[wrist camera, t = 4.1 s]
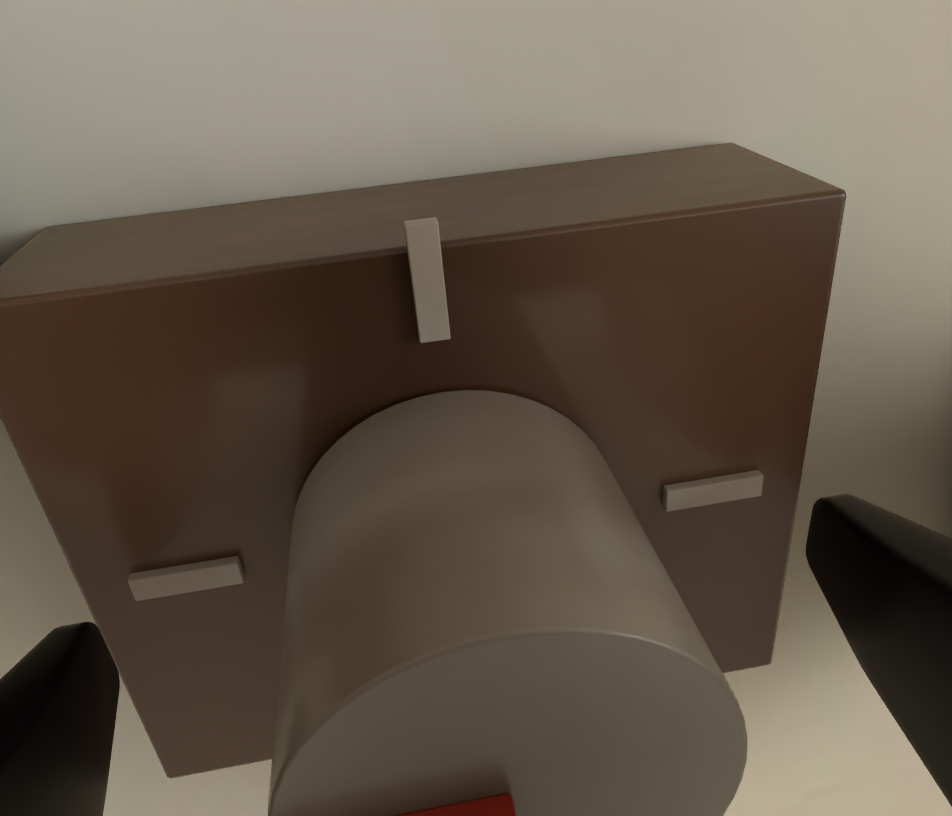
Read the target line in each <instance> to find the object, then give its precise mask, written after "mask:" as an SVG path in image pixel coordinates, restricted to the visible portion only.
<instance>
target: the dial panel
mask: <svg viewBox="0 0 952 816" xmlns="http://www.w3.org/2000/svg"><path fill="white" fill-rule="evenodd" d="M845 200H846V192H845V191H844V190H843V189H840V188H838V187H836V186H833V185H831V184H828V183H826V182H824V181H821V180H819V179H817V178H814V177H812V176H810V175H807V174H805V173H803V172H800V171H798V170H795V169H793V168H791V167H788V166H786V165H784V164H781V163H779V162H777V161H774V160H772V159H769V158H767V157H765V156H762V155H760V154H758V153H755V152H753V151H751V150H748V149H746V148H744V147H741V146H739V145H736V144H734V143H727V144H719V145H711V146H703V147H695V148H687V149H679V150H670V151H662V152H654V153H646V154H638V155H630V156H622V157H614V158H605V159H597V160H589V161H581V162H573V163H565V164H557V165H548V166H540V167H532V168H524V169H516V170H508V171H500V172H492V173H483V174H475V175H467V176H459V177H451V178H443V179H435V180H426V181H418V182H410V183H402V184H394V185H386V186H378V187H369V188H361V189H353V190H345V191H337V192H329V193H321V194H313V195H304V196H296V197H288V198H280V199H272V200H264V201H256V202H247V203H239V204H231V205H223V206H215V207H207V208H199V209H190V210H182V211H174V212H166V213H158V214H150V215H142V216H134V217H125V218H117V219H109V220H101V221H93V222H85V223H77V224H68V225H60V226H52V227H46V228H44V229H43V230H42V231H40V232H39V233H38V234H37V235H36V236H35V237H33V238H32V239H31V240H30V241H29V242H28V243H26V244H25V245H24V246H23V247H22V248H21V249H19V250H18V251H17V252H16V253H15V254H14V255H12V256H11V257H10V258H9V259H8V260H7V261H5V262H4V263H3V264H2V265H1V266H0V417H1V419H2V421H3V423H4V426H5V428H6V430H7V432H8V434H9V436H10V439H11V441H12V443H13V445H14V447H15V449H16V452H17V454H18V456H19V458H20V460H21V462H22V464H23V467H24V469H25V471H26V473H27V475H28V477H29V480H30V482H31V484H32V486H33V488H34V490H35V492H36V495H37V497H38V499H39V501H40V503H41V505H42V508H43V510H44V512H45V514H46V516H47V518H48V520H49V523H50V525H51V527H52V529H53V531H54V533H55V536H56V538H57V540H58V542H59V544H60V546H61V549H62V551H63V553H64V555H65V557H66V559H67V561H68V564H69V566H70V568H71V570H72V572H73V574H74V577H75V579H76V581H77V583H78V585H79V587H80V589H81V592H82V594H83V596H84V598H85V600H86V602H87V605H88V607H89V609H90V611H91V613H92V615H93V618H94V620H95V622H96V624H97V626H98V628H99V630H100V632H101V634H102V636H103V638H104V640H105V643H106V645H107V647H108V649H109V651H110V653H111V656H112V658H113V660H114V662H115V664H116V667H117V669H118V671H119V674H120V676H121V678H122V680H123V682H124V684H125V686H126V689H127V691H128V693H129V695H130V697H131V699H132V702H133V704H134V706H135V708H136V710H137V712H138V715H139V717H140V719H141V721H142V723H143V725H144V727H145V730H146V732H147V734H148V736H149V738H150V740H151V743H152V745H153V747H154V749H155V751H156V753H157V755H158V758H159V760H160V762H161V764H162V766H163V768H164V771H165V773H166V775H167V777H169V778H175V777H181V776H186V775H191V774H196V773H202V772H207V771H212V770H217V769H223V768H228V767H233V766H238V765H244V764H249V763H254V762H259V761H265V760H270V759H272V756H273V744H274V732H275V720H276V708H277V696H278V685H279V673H280V661H281V649H282V637H283V626H284V614H285V602H286V590H287V578H288V567H289V555H290V543H291V531H292V523H293V517H294V511H295V507H296V504H297V501H298V498H299V495H300V492H301V490H302V488H303V486H304V484H305V482H306V480H307V478H308V476H309V474H310V473H311V471H312V470H313V469H314V467H315V466H316V464H317V463H318V462H319V460H320V459H321V457H322V456H323V455H324V454H325V453H326V452H327V451H328V450H329V449H330V448H331V447H332V446H333V445H334V444H335V443H336V442H337V441H338V440H339V439H340V438H341V437H343V436H344V435H345V434H346V433H347V432H349V431H350V430H351V429H352V428H354V427H355V426H356V425H358V424H360V423H361V422H363V421H364V420H366V419H368V418H369V417H371V416H373V415H374V414H376V413H378V412H380V411H383V410H385V409H387V408H389V407H391V406H393V405H395V404H398V403H401V402H404V401H407V400H410V399H413V398H416V397H420V396H425V395H430V394H435V393H439V392H448V391H459V390H485V391H494V392H501V393H507V394H512V395H516V396H519V397H523V398H527V399H530V400H533V401H535V402H538V403H540V404H542V405H545V406H547V407H549V408H552V409H553V410H555V411H556V412H558V413H560V414H561V415H563V416H565V417H566V418H568V419H569V420H571V421H572V422H573V423H574V424H575V425H577V426H578V427H579V428H580V429H582V430H583V431H584V432H585V434H586V435H587V436H588V437H589V438H590V439H591V440H592V441H593V443H594V444H595V445H596V446H597V448H598V450H599V451H600V453H601V454H602V456H603V458H604V459H605V461H606V463H607V465H608V466H609V468H610V470H611V472H612V474H613V475H614V477H615V479H616V481H617V483H618V484H619V486H620V488H621V490H622V492H623V494H624V495H625V497H626V499H627V501H628V503H629V504H630V506H631V508H632V510H633V512H634V514H635V515H636V517H637V519H638V521H639V523H640V524H641V526H642V528H643V530H644V532H645V534H646V535H647V537H648V539H649V541H650V543H651V544H652V546H653V548H654V550H655V552H656V554H657V555H658V557H659V559H660V561H661V563H662V564H663V566H664V568H665V570H666V572H667V573H668V575H669V577H670V579H671V581H672V583H673V584H674V586H675V588H676V590H677V592H678V593H679V595H680V597H681V599H682V601H683V603H684V604H685V606H686V608H687V610H688V612H689V613H690V615H691V617H692V619H693V621H694V623H695V624H696V626H697V628H698V630H699V632H700V633H701V635H702V637H703V639H704V641H705V642H706V644H707V646H708V648H709V650H710V652H711V653H712V655H713V657H714V659H715V661H716V662H717V664H718V666H719V668H720V670H721V672H722V673H727V672H732V671H737V670H743V669H748V668H753V667H758V666H764V665H768V664H770V663H771V661H772V655H773V648H774V642H775V636H776V630H777V623H778V617H779V611H780V605H781V599H782V592H783V586H784V580H785V574H786V567H787V561H788V555H789V549H790V542H791V536H792V530H793V524H794V518H795V511H796V505H797V499H798V493H799V486H800V480H801V474H802V468H803V461H804V455H805V449H806V443H807V437H808V430H809V424H810V418H811V412H812V405H813V399H814V393H815V387H816V380H817V374H818V368H819V362H820V356H821V349H822V343H823V337H824V331H825V324H826V318H827V312H828V306H829V299H830V293H831V287H832V281H833V275H834V268H835V262H836V256H837V250H838V243H839V237H840V231H841V225H842V218H843V212H844V206H845Z"/></svg>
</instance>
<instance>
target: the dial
mask: <svg viewBox="0 0 952 816" xmlns="http://www.w3.org/2000/svg"><path fill="white" fill-rule="evenodd" d="M746 757H747V733H746V727H745V721H744V716H743V714H742V711H741V709H740V706H739V704H738V701H737V699H736V697H735V695H734V693H733V692H732V690H731V688H730V686H729V684H728V682H727V681H726V679H725V677H724V675H723V673H722V672H721V670H720V668H719V666H718V664H717V662H716V661H715V659H714V657H713V655H712V653H711V652H710V650H709V648H708V646H707V644H706V642H705V641H704V639H703V637H702V635H701V633H700V632H699V630H698V628H697V626H696V624H695V623H694V621H693V619H692V617H691V615H690V613H689V612H688V610H687V608H686V606H685V604H684V603H683V601H682V599H681V597H680V595H679V593H678V592H677V590H676V588H675V586H674V584H673V583H672V581H671V579H670V577H669V575H668V573H667V572H666V570H665V568H664V566H663V564H662V563H661V561H660V559H659V557H658V555H657V554H656V552H655V550H654V548H653V546H652V544H651V543H650V541H649V539H648V537H647V535H646V534H645V532H644V530H643V528H642V526H641V524H640V523H639V521H638V519H637V517H636V515H635V514H634V512H633V510H632V508H631V506H630V504H629V503H628V501H627V499H626V497H625V495H624V494H623V492H622V490H621V488H620V486H619V484H618V483H617V481H616V479H615V477H614V475H613V474H612V472H611V470H610V468H609V466H608V465H607V463H606V461H605V459H604V458H603V456H602V454H601V453H600V451H599V450H598V448H597V446H596V445H595V444H594V443H593V441H592V440H591V439H590V438H589V437H588V436H587V435H586V434H585V432H584V431H583V430H582V429H580V428H579V427H578V426H577V425H575V424H574V423H573V422H572V421H571V420H569V419H568V418H566V417H565V416H563V415H561V414H560V413H558V412H556V411H555V410H553V409H552V408H549V407H547V406H545V405H542V404H540V403H538V402H535V401H533V400H530V399H527V398H523V397H519V396H516V395H512V394H507V393H501V392H494V391H485V390H459V391H448V392H439V393H435V394H430V395H425V396H420V397H416V398H413V399H410V400H407V401H404V402H401V403H398V404H395V405H393V406H391V407H389V408H387V409H385V410H383V411H380V412H378V413H376V414H374V415H373V416H371V417H369V418H368V419H366V420H364V421H363V422H361V423H360V424H358V425H356V426H355V427H354V428H352V429H351V430H350V431H349V432H347V433H346V434H345V435H344V436H343V437H341V438H340V439H339V440H338V441H337V442H336V443H335V444H334V445H333V446H332V447H331V448H330V449H329V450H328V451H327V452H326V453H325V454H324V455H323V456H322V457H321V459H320V460H319V462H318V463H317V464H316V466H315V467H314V469H313V470H312V471H311V473H310V474H309V476H308V478H307V480H306V482H305V484H304V486H303V488H302V490H301V492H300V495H299V498H298V501H297V504H296V507H295V511H294V517H293V523H292V531H291V543H290V555H289V567H288V578H287V590H286V602H285V614H284V626H283V637H282V649H281V661H280V673H279V685H278V696H277V708H276V720H275V732H274V744H273V756H272V767H271V779H270V791H269V803H268V816H723V815H724V813H725V811H726V810H727V808H728V806H729V805H730V803H731V802H732V800H733V798H734V796H735V794H736V791H737V789H738V787H739V784H740V782H741V780H742V776H743V772H744V768H745V764H746Z"/></svg>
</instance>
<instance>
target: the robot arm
mask: <svg viewBox="0 0 952 816" xmlns="http://www.w3.org/2000/svg"><path fill="white" fill-rule="evenodd" d="M806 556H807V560H808V564H809V566H810V568H811V570H812V572H813V574H814V576H815V578H816V580H817V582H818V584H819V586H820V588H821V590H822V592H823V594H824V596H825V598H826V600H827V602H828V603H829V605H830V607H831V609H832V611H833V613H834V615H835V617H836V619H837V621H838V623H839V625H840V627H841V629H842V631H843V633H844V635H845V637H846V639H847V641H848V643H849V645H850V647H851V649H852V650H853V652H854V654H855V656H856V658H857V660H858V661H859V663H860V665H861V667H862V669H863V670H864V672H865V673H866V675H867V677H868V678H869V680H870V682H871V683H872V685H873V686H874V688H875V689H876V691H877V692H878V694H879V696H880V697H881V699H882V700H883V702H884V703H885V705H886V706H887V708H888V709H889V711H890V712H891V714H892V716H893V717H894V719H895V720H896V722H897V723H898V725H899V726H900V728H901V729H902V731H903V732H904V734H905V736H906V737H907V739H908V740H909V742H910V743H911V745H912V746H913V748H914V749H915V751H916V752H917V754H918V755H919V757H920V759H921V760H922V762H923V763H924V765H925V766H926V768H927V769H928V771H929V772H930V774H931V775H932V777H933V779H934V780H935V782H936V783H937V785H938V786H939V788H940V789H941V791H942V792H943V794H944V795H945V797H946V798H947V800H948V802H949V803H950V805H951V806H952V539H951V538H949V537H946V536H944V535H942V534H940V533H937V532H935V531H933V530H930V529H928V528H926V527H924V526H921V525H919V524H917V523H914V522H912V521H910V520H908V519H905V518H903V517H901V516H899V515H896V514H894V513H892V512H889V511H887V510H885V509H883V508H880V507H878V506H876V505H873V504H871V503H869V502H867V501H864V500H862V499H860V498H857V497H855V496H853V495H849V494H842V495H836V496H830V497H824V498H820V499H819V500H817V501H816V502H815V504H814V506H813V509H812V515H811V520H810V526H809V532H808V537H807V543H806ZM119 687H120V680H119V673H118V669H117V667H116V664H115V662H114V660H113V658H112V656H111V653H110V651H109V649H108V647H107V645H106V643H105V640H104V638H103V636H102V634H101V632H100V630H99V628H98V627H97V626H96V625H95V624H94V623H91V622H83V623H77V624H71V625H66V626H61V627H58V628H56V629H54V630H53V631H51V632H50V633H49V634H48V635H47V636H46V637H45V638H44V639H43V640H42V641H41V642H39V643H38V644H37V645H36V646H35V647H34V648H33V649H32V650H31V651H30V652H29V653H28V654H27V655H26V656H25V657H24V658H22V659H21V660H20V661H19V662H18V663H17V664H16V665H15V666H14V667H13V668H12V669H11V670H10V671H9V672H8V673H7V674H5V675H4V676H3V677H2V678H1V679H0V816H103V810H104V804H105V797H106V791H107V783H108V775H109V767H110V759H111V751H112V743H113V736H114V728H115V720H116V712H117V704H118V696H119Z"/></svg>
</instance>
